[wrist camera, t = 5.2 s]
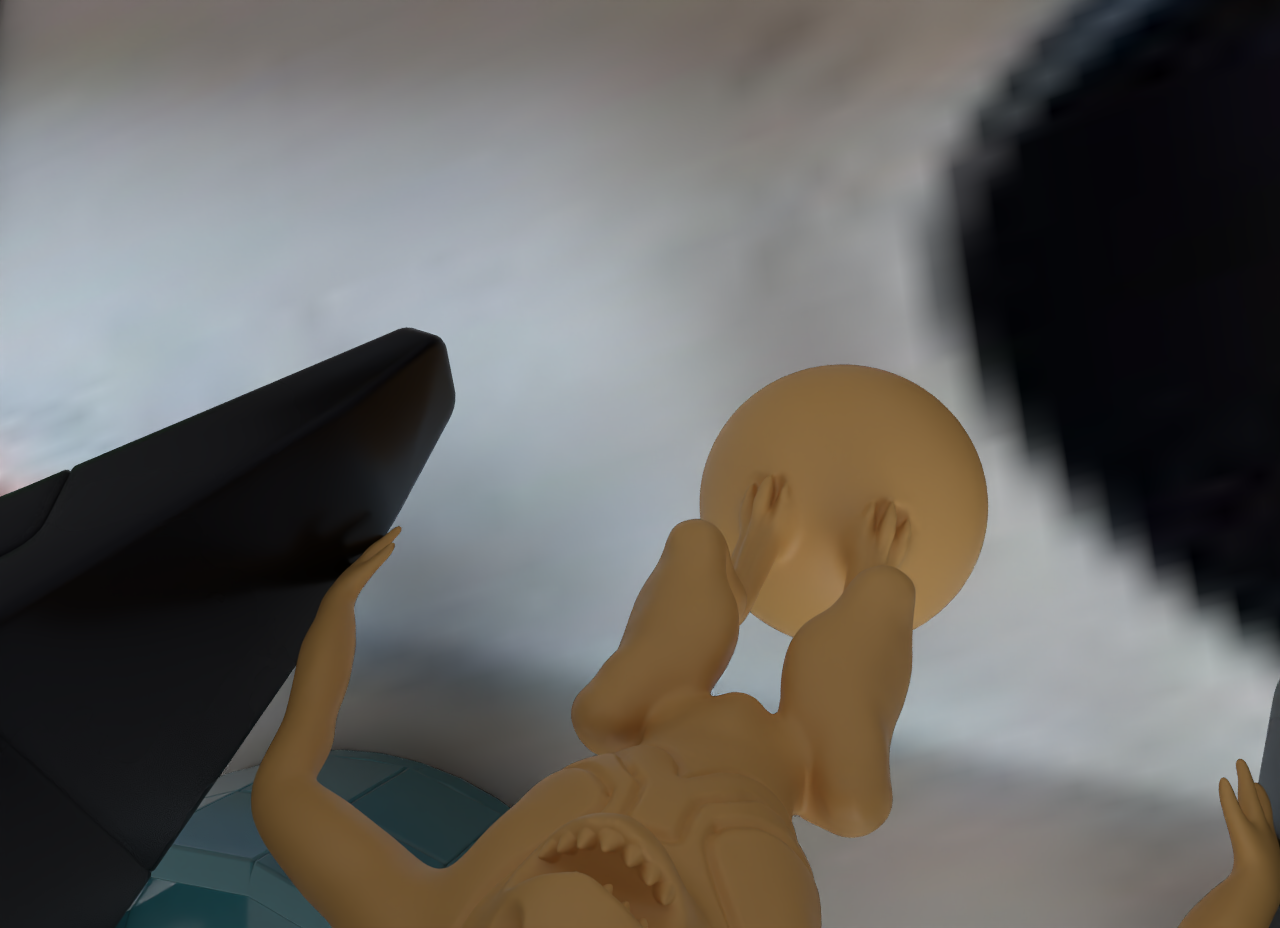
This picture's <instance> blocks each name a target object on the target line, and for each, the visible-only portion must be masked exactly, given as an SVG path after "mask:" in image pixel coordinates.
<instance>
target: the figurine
mask: <svg viewBox="0 0 1280 928" xmlns="http://www.w3.org/2000/svg"><path fill="white" fill-rule="evenodd" d="M987 519H988V495H987V486H986V481H985V476H984V472H983V468H982V465H981V462H980V459H979V456H978V454H977V451H976V449H975V447H974V445H973V443H972V441H971V439H970V438H969V436H968V434H967V433H966V431H965V429H964V428H963V427H962V425H961V424H960V422H959V421H958V420H957V419H956V417H955V416H954V415H953V414H952V413H951V412H950V411H949V410H948V409H947V408H946V407H945V406H944V405H943V404H942V403H941V402H940V401H939V400H938V399H937V398H935V397H934V396H933V395H932V394H930V393H929V392H927V391H926V390H925V389H923V388H922V387H920V386H918V385H917V384H915V383H913V382H911V381H909V380H907V379H905V378H903V377H901V376H898V375H896V374H893V373H890V372H887V371H884V370H880V369H876V368H872V367H866V366H859V365H826V366H819V367H813V368H809V369H805V370H801V371H798V372H795V373H792V374H789V375H787V376H784V377H782V378H780V379H778V380H776V381H774V382H772V383H770V384H769V385H767V386H765V387H764V388H762V389H761V390H759V391H758V392H757V393H755V394H754V395H753V396H751V397H750V398H749V399H748V400H747V401H745V402H744V403H743V404H742V405H741V406H740V407H739V408H738V409H737V410H736V411H735V413H734V414H733V415H732V416H731V417H730V418H729V420H728V421H727V422H726V424H725V425H724V427H723V428H722V430H721V431H720V433H719V435H718V436H717V438H716V440H715V442H714V444H713V446H712V448H711V451H710V453H709V456H708V458H707V461H706V464H705V468H704V472H703V476H702V481H701V488H700V519H691V520H687V521H683V522H681V523H679V524H677V525H676V526H675V527H674V528H673V529H672V531H671V532H670V534H669V537H668V539H667V542H666V544H665V547H664V550H663V553H662V555H661V558H660V560H659V562H658V564H657V565H656V567H655V569H654V570H653V572H652V574H651V575H650V576H649V578H648V579H647V581H646V582H645V584H644V586H643V587H642V589H641V591H640V593H639V595H638V597H637V599H636V601H635V604H634V606H633V609H632V611H631V614H630V617H629V620H628V623H627V626H626V629H625V632H624V634H623V637H622V640H621V642H620V645H619V648H618V650H617V651H616V652H615V653H614V654H613V655H612V656H611V657H610V658H609V659H608V660H607V661H606V662H605V663H604V664H603V666H602V667H601V669H600V670H599V671H598V673H597V674H596V676H595V677H594V678H593V679H592V680H591V682H590V683H589V684H587V685H586V686H585V687H584V688H583V689H582V690H581V691H580V693H579V694H578V695H577V697H576V698H575V700H574V702H573V705H572V709H571V719H572V723H573V727H574V729H575V732H576V734H577V736H578V737H579V739H580V740H581V742H582V743H583V744H584V745H585V746H586V747H587V748H588V749H589V750H591V751H592V752H594V753H595V754H597V755H596V756H592V757H589V758H585V759H582V760H580V761H577V762H575V763H572V764H570V765H568V766H566V767H564V768H563V769H561V770H560V771H558V772H555V773H553V774H551V775H549V776H548V777H546V778H544V779H543V780H541V781H540V782H539V783H537V784H536V785H535V786H534V787H533V788H531V789H530V790H529V791H528V792H527V793H526V794H525V795H524V796H523V797H522V798H521V799H520V800H519V801H518V802H517V803H516V804H515V805H514V806H513V807H511V808H510V809H509V810H508V811H507V812H506V813H505V814H503V815H502V816H501V817H500V818H499V819H498V820H497V821H496V822H495V823H494V824H492V825H491V826H490V827H489V828H488V829H487V830H486V831H485V833H484V834H483V835H482V836H481V837H480V838H479V839H478V840H477V841H476V842H475V844H474V845H473V846H472V847H471V848H470V849H469V850H468V851H467V852H466V853H465V854H464V855H463V856H462V857H461V858H460V859H459V860H458V861H457V862H455V863H454V864H453V865H451V866H449V867H447V868H443V869H437V868H433V867H430V866H428V865H426V864H425V863H423V862H422V861H420V860H419V859H418V858H416V857H415V856H414V855H413V854H412V853H410V852H409V851H408V850H407V849H406V848H405V847H404V846H402V845H401V844H400V843H399V842H398V841H397V840H395V839H394V838H393V837H392V836H391V835H389V834H388V833H387V832H386V831H384V830H383V829H382V828H381V827H379V826H378V825H377V824H375V823H374V822H373V821H372V820H370V819H369V818H368V817H367V816H365V815H364V814H363V813H362V812H360V811H359V810H358V809H356V808H355V807H354V806H352V805H351V804H350V803H348V802H347V801H346V800H344V799H343V798H341V797H340V796H338V795H337V794H335V793H333V792H332V791H330V790H329V789H327V788H325V787H324V786H322V785H321V784H320V783H319V782H318V781H317V776H318V774H319V772H320V770H321V768H322V766H323V765H324V763H325V761H326V759H327V757H328V755H329V753H330V750H331V748H332V744H333V740H334V734H335V726H336V720H337V715H338V712H339V709H340V706H341V704H342V701H343V699H344V696H345V693H346V690H347V687H348V684H349V680H350V675H351V670H352V665H353V660H354V655H355V647H356V625H355V614H354V606H355V602H356V599H357V597H358V595H359V593H360V591H361V590H362V588H363V587H364V586H365V584H366V583H367V582H368V580H369V579H370V578H371V576H372V575H373V574H374V573H375V572H376V570H377V569H378V568H379V567H380V566H381V565H382V564H383V563H384V562H385V561H386V560H387V558H388V557H389V556H390V555H391V553H392V551H393V549H394V547H395V544H394V543H392V542H393V540H394V539H395V538H396V537H397V536H398V535H399V533H400V532H401V527H400V526H398V527H395V528H394V529H392V530H391V531H390V532H389V533H387V534H386V535H385V536H384V537H382V538H381V539H380V540H378V541H376V542H375V543H374V544H372V545H371V546H370V547H369V548H368V549H367V550H366V551H365V552H364V553H363V554H362V556H361V557H359V558H358V559H357V560H356V561H355V562H354V563H353V564H352V565H351V566H350V567H348V568H347V569H346V570H345V571H344V572H343V573H342V574H341V575H340V576H339V578H338V579H337V580H336V581H335V582H334V584H333V585H332V586H331V587H330V589H329V590H328V591H327V593H326V594H325V596H324V597H323V599H322V601H321V604H320V606H319V609H318V612H317V614H316V617H315V619H314V621H313V623H312V625H311V627H310V628H309V630H308V632H307V634H306V636H305V638H304V640H303V642H302V645H301V648H300V652H299V656H298V660H297V665H296V670H295V675H294V680H293V684H292V688H291V693H290V697H289V701H288V705H287V709H286V712H285V716H284V718H283V721H282V723H281V725H280V727H279V729H278V731H277V733H276V735H275V737H274V739H273V741H272V742H271V744H270V746H269V748H268V750H267V752H266V754H265V756H264V758H263V760H262V762H261V764H260V766H259V768H258V771H257V773H256V776H255V779H254V782H253V787H252V793H251V811H252V816H253V820H254V823H255V825H256V828H257V830H258V832H259V835H260V837H261V838H262V840H263V842H264V844H265V845H266V847H267V848H268V850H269V851H270V853H271V854H272V856H273V857H274V858H275V860H276V861H277V863H278V864H279V865H280V867H281V868H282V869H283V871H284V872H285V873H286V875H287V876H288V877H289V879H290V880H291V881H292V883H293V884H294V885H295V886H296V888H297V889H298V890H299V892H300V893H301V894H302V895H303V896H304V897H305V899H306V900H307V901H308V902H309V903H310V904H311V905H312V906H313V907H314V908H315V909H316V910H317V911H318V912H319V913H320V914H321V915H322V916H323V917H324V918H325V919H326V920H327V922H328V923H329V924H330V925H331V927H332V928H821V906H820V898H819V893H818V889H817V886H816V884H815V881H814V877H813V873H812V870H811V867H810V865H809V862H808V860H807V858H806V856H805V854H804V852H803V850H802V849H801V847H800V845H799V843H798V841H797V837H796V833H795V830H794V827H793V824H792V816H794V815H799V816H800V817H802V818H803V819H805V820H806V821H808V822H810V823H812V824H815V825H817V826H819V827H821V828H823V829H825V830H827V831H829V832H831V833H833V834H836V835H838V836H842V837H848V838H855V837H861V836H865V835H867V834H870V833H871V832H873V831H875V830H876V829H877V828H879V827H880V826H881V825H882V824H883V823H884V822H885V820H886V819H887V818H888V816H889V814H890V811H891V808H892V801H893V796H892V787H891V780H890V766H889V752H890V745H891V739H892V735H893V731H894V728H895V725H896V722H897V720H898V718H899V715H900V713H901V710H902V708H903V705H904V702H905V698H906V695H907V691H908V687H909V683H910V678H911V672H912V633H913V630H914V629H916V628H917V627H919V626H921V625H922V624H924V623H926V622H927V621H928V620H930V619H931V618H933V617H934V616H935V615H936V614H938V613H939V612H940V611H941V610H942V609H943V608H944V607H946V606H947V605H948V604H949V602H950V601H951V600H952V599H953V598H954V597H955V596H956V595H957V593H958V592H959V591H960V590H961V588H962V587H963V585H964V584H965V582H966V581H967V579H968V578H969V576H970V574H971V572H972V570H973V568H974V566H975V564H976V562H977V560H978V557H979V555H980V552H981V549H982V545H983V542H984V538H985V533H986V527H987ZM749 612H751V613H752V614H753V615H755V616H756V617H757V618H759V619H760V620H761V621H763V622H764V623H766V624H768V625H769V626H771V627H773V628H774V629H776V630H778V631H780V632H782V633H784V634H787V635H789V636H791V637H793V639H792V641H791V643H790V645H789V647H788V650H787V653H786V656H785V660H784V664H783V670H782V677H781V698H780V704H779V709H778V712H777V713H775V714H771V713H769V712H768V711H767V710H766V709H765V708H764V707H763V706H762V705H761V703H760V702H759V701H758V700H756V699H755V698H754V697H752V696H750V695H748V694H745V693H740V692H731V693H726V694H723V695H719V696H712V695H711V694H710V693H711V690H712V689H713V687H714V686H715V684H716V683H717V681H718V680H719V678H720V677H721V675H722V674H723V672H724V671H725V669H726V667H727V665H728V663H729V662H730V659H731V657H732V655H733V653H734V650H735V647H736V644H737V640H738V635H739V625H741V624H742V622H743V621H744V620H745V618H746V617H747V615H748V614H749ZM1236 769H1237V775H1238V801H1237V798H1236V796H1235V794H1234V791H1233V789H1232V787H1231V785H1230V783H1229V781H1228V780H1227V779H1226V778H1224V777H1223V778H1221V779H1220V782H1219V796H1220V802H1221V806H1222V810H1223V813H1224V817H1225V820H1226V824H1227V827H1228V831H1229V834H1230V838H1231V843H1232V847H1233V853H1234V864H1233V869H1232V872H1231V874H1230V875H1229V877H1228V878H1227V879H1225V880H1224V881H1223V882H1221V883H1220V884H1219V885H1217V886H1216V887H1215V888H1214V889H1212V890H1211V891H1210V892H1209V893H1208V894H1207V895H1206V896H1205V897H1204V898H1203V899H1202V900H1201V901H1199V902H1198V903H1197V904H1196V905H1195V906H1194V907H1193V908H1192V909H1191V910H1190V911H1189V913H1188V914H1187V915H1186V916H1185V918H1184V919H1183V920H1182V922H1181V923H1180V925H1179V926H1178V928H1269V926H1270V923H1271V921H1272V919H1273V917H1274V915H1275V913H1276V911H1277V909H1278V907H1279V905H1280V847H1279V843H1278V839H1277V836H1276V833H1275V829H1274V825H1273V813H1272V807H1271V803H1270V800H1269V797H1268V795H1267V793H1266V791H1265V789H1264V788H1263V787H1262V786H1261V785H1260V784H1259V783H1254V781H1253V779H1252V776H1251V773H1250V771H1249V768H1248V766H1247V764H1246V762H1245V761H1244V760H1242V759H1238V760H1237V762H1236Z"/></svg>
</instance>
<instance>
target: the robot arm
mask: <svg viewBox="0 0 1280 928" xmlns="http://www.w3.org/2000/svg"><path fill="white" fill-rule="evenodd" d="M454 405H455V389H454V384H453V379H452V374H451V369H450V364H449V359H448V354H447V349H446V345H445V343H444V342H443V341H442V339H441V338H440V337H438V336H436V335H433V334H430V333H427V332H424V331H420V330H417V329H414V328H407V327H406V328H401V329H398V330H396V331H393V332H391V333H389V334H386V335H384V336H382V337H379V338H377V339H374V340H372V341H370V342H367V343H365V344H363V345H360V346H358V347H355V348H353V349H351V350H348V351H346V352H344V353H341V354H339V355H337V356H334V357H332V358H329V359H327V360H325V361H322V362H320V363H318V364H315V365H313V366H311V367H308V368H306V369H303V370H301V371H299V372H296V373H294V374H292V375H289V376H287V377H284V378H282V379H280V380H277V381H275V382H273V383H270V384H268V385H266V386H263V387H261V388H258V389H256V390H254V391H251V392H249V393H247V394H244V395H242V396H240V397H237V398H235V399H232V400H230V401H228V402H225V403H223V404H221V405H218V406H216V407H213V408H211V409H209V410H206V411H204V412H202V413H199V414H197V415H195V416H192V417H190V418H187V419H185V420H183V421H180V422H178V423H176V424H173V425H171V426H168V427H166V428H164V429H161V430H159V431H157V432H154V433H152V434H149V435H147V436H145V437H142V438H140V439H138V440H135V441H133V442H130V443H128V444H126V445H123V446H121V447H119V448H116V449H114V450H112V451H109V452H107V453H104V454H102V455H100V456H97V457H95V458H93V459H90V460H88V461H85V462H83V463H81V464H78V465H76V466H74V467H73V469H72V470H71V471H69V470H64V471H61V472H59V473H57V474H54V475H52V476H50V477H47V478H45V479H42V480H40V481H38V482H35V483H33V484H31V485H28V486H26V487H23V488H21V489H18V490H16V491H13V492H11V493H8V494H6V495H3V496H1V497H0V928H116V926H117V925H118V923H119V922H120V921H121V919H122V918H123V916H124V915H125V913H126V912H127V910H128V909H129V908H130V906H131V905H132V903H133V902H134V900H135V899H136V897H137V896H138V895H139V893H140V892H141V890H142V889H143V887H144V886H145V884H146V883H147V881H148V880H149V879H150V877H151V871H154V870H155V869H156V867H157V866H158V865H159V863H160V862H161V860H162V859H163V857H164V856H165V854H166V853H167V852H168V850H169V849H170V847H171V846H172V844H173V843H174V841H175V840H176V839H177V837H178V836H179V834H180V833H181V831H182V830H183V828H184V827H185V825H186V824H187V823H188V821H189V820H190V818H191V817H192V815H193V814H194V812H195V811H196V810H197V808H198V807H199V805H200V804H201V802H202V801H203V799H204V798H205V796H206V795H207V794H208V792H209V791H210V789H211V788H212V786H213V785H214V783H215V782H216V781H217V779H218V778H219V776H220V775H221V773H222V772H223V770H224V769H225V768H226V766H227V765H228V763H229V762H230V760H231V759H232V757H233V756H234V754H235V753H236V752H237V750H238V749H239V747H240V746H241V744H242V743H243V741H244V740H245V739H246V737H247V736H248V734H249V733H250V731H251V730H252V728H253V727H254V726H255V724H256V723H257V721H258V720H259V718H260V717H261V715H262V714H263V712H264V711H265V710H266V708H267V707H268V705H269V704H270V702H271V701H272V699H273V698H274V697H275V695H276V694H277V692H278V691H279V689H280V688H281V686H282V685H283V683H284V682H285V681H286V679H287V678H288V676H289V675H290V673H291V672H292V670H293V669H294V668H295V666H296V665H297V660H298V656H299V652H300V648H301V645H302V642H303V640H304V638H305V636H306V634H307V632H308V630H309V628H310V627H311V625H312V623H313V621H314V619H315V617H316V614H317V612H318V609H319V606H320V604H321V601H322V599H323V597H324V596H325V594H326V593H327V591H328V590H329V589H330V587H331V586H332V585H333V584H334V582H335V581H336V580H337V579H338V578H339V576H340V575H341V574H342V573H343V572H344V571H345V570H346V569H347V568H348V567H350V566H351V565H352V564H353V563H354V562H355V561H356V560H357V559H358V558H359V557H361V556H362V554H363V553H364V552H365V551H366V550H367V549H368V548H369V547H370V546H371V545H372V544H374V543H375V542H376V541H378V540H380V539H381V538H382V537H384V536H385V535H386V534H387V532H388V531H389V529H390V527H391V526H392V524H393V522H394V521H395V519H396V517H397V515H398V514H399V512H400V510H401V508H402V506H403V505H404V503H405V501H406V499H407V497H408V495H409V493H410V492H411V490H412V488H413V486H414V484H415V482H416V480H417V478H418V477H419V475H420V473H421V471H422V469H423V467H424V465H425V464H426V462H427V460H428V458H429V456H430V454H431V452H432V451H433V449H434V447H435V445H436V443H437V441H438V439H439V437H440V436H441V434H442V432H443V430H444V428H445V426H446V424H447V423H448V421H449V419H450V417H451V415H452V412H453V409H454ZM1258 783H1259V784H1260V785H1261V786H1262V787H1263V788H1264V789H1265V791H1266V793H1267V795H1268V797H1269V800H1270V803H1271V807H1272V813H1273V825H1274V829H1275V833H1276V836H1277V839H1278V843H1279V847H1280V679H1279V681H1278V684H1277V686H1276V689H1275V692H1274V697H1273V702H1272V708H1271V713H1270V719H1269V725H1268V730H1267V736H1266V742H1265V748H1264V753H1263V759H1262V765H1261V770H1260V776H1259V782H1258ZM1269 928H1280V905H1279V907H1278V909H1277V911H1276V913H1275V915H1274V917H1273V919H1272V921H1271V923H1270V926H1269Z"/></svg>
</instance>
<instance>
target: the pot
mask: <svg viewBox="0 0 1280 928" xmlns="http://www.w3.org/2000/svg"><path fill="white" fill-rule="evenodd" d="M259 766H260V764H259V765H257V766H254V767H251V768H247V769H243V770H239V771H235V772H230V773H228V774H226V775H224V776H222V777H219V778H218V779H217V781H216V782H215V783H214V785H213V786H212V788H211V789H210V791H209V792H208V794H207V795H206V796H205V798H204V799H203V801H202V802H201V804H200V805H199V807H198V808H197V810H196V811H195V812H194V814H193V815H192V817H191V818H190V820H189V821H188V823H187V824H186V825H185V827H184V828H183V830H182V831H181V833H180V834H179V836H178V837H177V839H176V840H175V841H174V843H173V844H172V846H171V847H170V849H169V850H168V852H167V853H166V854H165V856H164V857H163V859H162V860H161V862H160V863H159V865H158V866H157V867H156V869H155V870H154V871H151V877H150V879H149V880H148V881H147V883H146V884H145V886H144V887H143V889H142V890H141V892H140V893H139V895H138V896H137V897H136V899H135V900H134V902H133V903H132V905H131V906H130V908H129V909H128V910H127V912H126V913H125V915H124V916H123V918H122V919H121V921H120V922H119V923H118V925H117V926H116V928H332V927H331V925H330V924H329V923H328V922H327V920H326V919H325V918H324V917H323V916H322V915H321V914H320V913H319V912H318V911H317V910H316V909H315V908H314V907H313V906H312V905H311V904H310V903H309V902H308V901H307V900H306V899H305V897H304V896H303V895H302V894H301V893H300V892H299V890H298V889H297V888H296V886H295V885H294V884H293V883H292V881H291V880H290V879H289V877H288V876H287V875H286V873H285V872H284V871H283V869H282V868H281V867H280V865H279V864H278V863H277V861H276V860H275V858H274V857H273V856H272V854H271V853H270V851H269V850H268V848H267V847H266V845H265V844H264V842H263V840H262V838H261V837H260V835H259V832H258V830H257V828H256V825H255V823H254V820H253V816H252V811H251V793H252V787H253V782H254V779H255V776H256V773H257V771H258V768H259ZM317 781H318V782H319V783H320V784H321V785H322V786H324V787H325V788H327V789H329V790H330V791H332V792H333V793H335V794H337V795H338V796H340V797H341V798H343V799H344V800H346V801H347V802H348V803H350V804H351V805H352V806H354V807H355V808H356V809H358V810H359V811H360V812H362V813H363V814H364V815H365V816H367V817H368V818H369V819H370V820H372V821H373V822H374V823H375V824H377V825H378V826H379V827H381V828H382V829H383V830H384V831H386V832H387V833H388V834H389V835H391V836H392V837H393V838H394V839H395V840H397V841H398V842H399V843H400V844H401V845H402V846H404V847H405V848H406V849H407V850H408V851H409V852H410V853H412V854H413V855H414V856H415V857H416V858H418V859H419V860H420V861H422V862H423V863H425V864H426V865H428V866H430V867H433V868H437V869H443V868H447V867H449V866H451V865H453V864H454V863H455V862H457V861H458V860H459V859H460V858H461V857H462V856H463V855H464V854H465V853H466V852H467V851H468V850H469V849H470V848H471V847H472V846H473V845H474V844H475V842H476V841H477V840H478V839H479V838H480V837H481V836H482V835H483V834H484V833H485V831H486V830H487V829H488V828H489V827H490V826H491V825H492V824H494V823H495V822H496V821H497V820H498V819H499V818H500V817H501V816H502V815H503V814H505V813H506V812H507V811H508V810H509V809H510V807H508V806H507V805H506V804H504V803H503V802H502V801H500V800H499V799H497V798H495V797H494V796H492V795H490V794H488V793H486V792H485V791H483V790H481V789H479V788H477V787H476V786H474V785H472V784H470V783H468V782H466V781H465V780H463V779H461V778H459V777H456V776H454V775H451V774H449V773H446V772H444V771H441V770H439V769H436V768H434V767H431V766H428V765H426V764H423V763H421V762H416V761H412V760H408V759H404V758H400V757H396V756H392V755H387V754H383V753H375V752H364V751H353V750H330V753H329V755H328V757H327V759H326V761H325V763H324V765H323V766H322V768H321V770H320V772H319V774H318V776H317Z"/></svg>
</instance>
